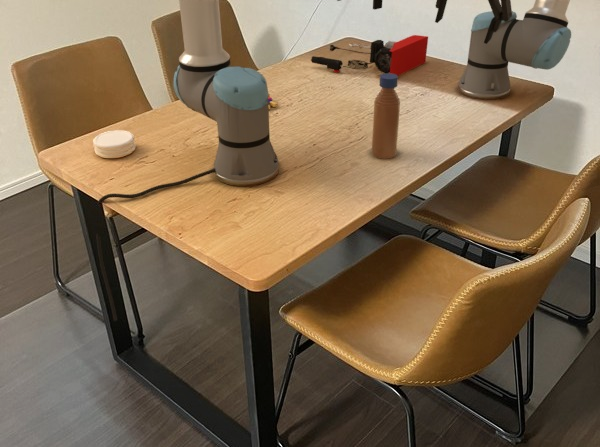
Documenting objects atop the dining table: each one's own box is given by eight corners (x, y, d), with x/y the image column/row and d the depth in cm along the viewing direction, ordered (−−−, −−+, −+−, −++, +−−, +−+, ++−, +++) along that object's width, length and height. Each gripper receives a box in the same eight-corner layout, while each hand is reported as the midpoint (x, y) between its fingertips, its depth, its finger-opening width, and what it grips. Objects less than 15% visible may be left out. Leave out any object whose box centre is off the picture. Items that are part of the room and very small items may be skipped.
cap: (376, 83, 145) (377, 74, 144) (392, 81, 146) (392, 72, 145) (384, 89, 141) (384, 80, 140) (400, 87, 143) (400, 77, 141)
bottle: (367, 150, 155) (371, 75, 144) (389, 146, 156) (394, 72, 146) (377, 160, 150) (382, 83, 139) (400, 156, 151) (406, 80, 141)
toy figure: (281, 99, 179) (254, 86, 186) (263, 105, 175) (236, 92, 182) (281, 107, 180) (254, 94, 187) (263, 113, 176) (236, 100, 183)
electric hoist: (310, 36, 203) (391, 51, 188) (352, 23, 222) (429, 35, 207) (309, 67, 208) (388, 83, 193) (351, 51, 227) (425, 65, 212)
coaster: (106, 163, 150) (103, 149, 148) (88, 149, 156) (85, 137, 155) (143, 150, 156) (141, 137, 154) (124, 138, 162) (122, 126, 160)
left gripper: (410, -82, 149) (403, 9, 160) (338, -89, 165) (337, -6, 176) (388, -79, 145) (383, 15, 156) (317, -87, 161) (317, -2, 172)
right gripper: (430, -65, 141) (412, 18, 157) (533, -26, 133) (502, 57, 149) (445, -76, 145) (425, 5, 161) (546, -40, 137) (514, 42, 153)
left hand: (358, 4), depth 166 cm, fingers open, 13 cm apart
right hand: (462, 30), depth 155 cm, fingers open, 13 cm apart
